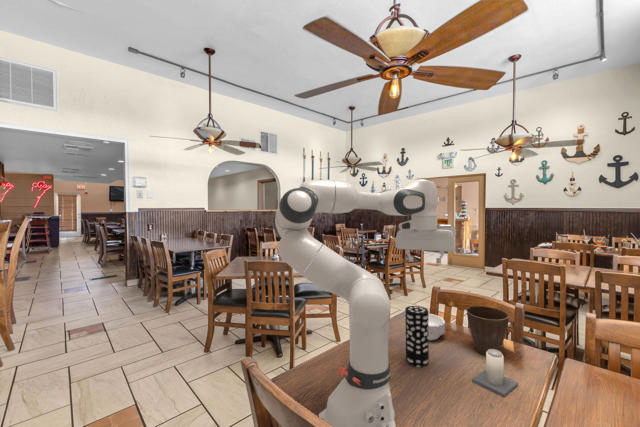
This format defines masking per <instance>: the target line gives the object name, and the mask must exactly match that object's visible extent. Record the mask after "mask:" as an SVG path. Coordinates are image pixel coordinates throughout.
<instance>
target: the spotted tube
mask: <svg viewBox="0 0 640 427" xmlns="http://www.w3.org/2000/svg"><path fill="white" fill-rule="evenodd" d="M404 310H405V361H406V363H407V364H408V365H410V366H412V367H416V368H425V367H427V366H429V364H430V363H429V353H430V352H429V350H430V349H429V340H428V313H429V310H428V308H426V307H423V306H420V305H419V306H417V305H410V306H406V307H405V309H404Z"/></svg>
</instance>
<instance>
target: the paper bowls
mask: <svg viewBox="0 0 640 427" xmlns="http://www.w3.org/2000/svg"><path fill="white" fill-rule="evenodd" d="M445 333H446V321H445V319H444V318H442V317H441V316H439V315H437V314H433V313H429V312H428V341H436V340H438V339H439V338H440V336H442V335H444V334H445Z"/></svg>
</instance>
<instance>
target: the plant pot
mask: <svg viewBox="0 0 640 427" xmlns="http://www.w3.org/2000/svg"><path fill="white" fill-rule="evenodd" d="M465 310H466V316H467V322H468V326H469V331H470V334H471V337H472V340H473V343H474V346H475V349H476V351H477V352H478V353H480V354H482V355H485V356H486V352H487V351H488V349H496V350H499V351H500V350H501V347H502V346H503V342H504V339H505V337H506V334H507V333H506V332H507V329H508V324H509V318H510V315H509V314H508V313H507V312H506V311H504V310H502V309H499V308H495V307H491V306H482V305H474V306H469V307H467V308H466V309H465Z"/></svg>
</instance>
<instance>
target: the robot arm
mask: <svg viewBox="0 0 640 427" xmlns="http://www.w3.org/2000/svg"><path fill="white" fill-rule="evenodd" d="M437 190H438V189H437V185H436V183H435V182H434V181H433V180H431V179H428V178H427V179H426V178H415V179H414V180H413V181H412V182H409V184H407V185H405V186H402V187H401V188H397V189H396V188H395V189H385V190H382V191H380V192H368V191H360V190H357V189H356V187H355V186H354V185H353V184H352V183H349V182H346V181H341V180H335V179H311V180H305V181H303V182H302V183H301V184H300V186H299V187H295V188H292V189H289V190H287V191H286V192H285V193H284V194H283V195H282V197H281V199H280V201H279V205H278V207H277V209H276V212H275V217H274V218H275V219H274V225H273V226H274V230H275V232H276V235H277V236H278V238H279V242H278V245H277V253H278V255H279V257H280V258H281V259H283V261H284V262H285V263H286V264H287V265H288V266H289V267H291V268H292V269H293V270H294V271H295V272H296V273H298V274H299V275H301V276H302V277H303V278H305V280H308V281H309V282H311V284H314V285H315V286H317V287H318V288H319V289H320V290H323V291H324V292H327V293H331V294H333V295H335V296H338V297H341V298H342V299H344V300H346V301H347V302H348V320H349V322H348V323H349V329H348V330H349V361H348V363H347V366H346V367H347V368H345V367H344V366H342V365H341V366H339V368H338V371H337V372H338V373H339V375H342V376H343V377H344V378H343V379H342V380H341V381H340V383H339V384H338V385H337V386H336V387H335V389H334V390H333V391H332V392H331V394H330V395H329V396H328V397H327V403H326V407H325V409H323V410H322V411H320V412H319V413H318V415H317V416H319V417H320V418H322V419H323V420H325V421H326V422H328V423H329V424H331V425H333V426H334V427H397V426H396V422H395V417H396V413H395V412H396V411H395V409H394V406H393V400H392V393H391V386H390V380H391V365H390V362H389V334H390V324H391V323H390V322H391V299H390V297H389V295H388V292H387V290H386V287H385V285H384V283H383V282H382V280H381V279H380V278H379V277H378V276H376V275H375V274H373V273H371V272H369V271H368V270H367V269H364V268H363V267H361V266H359V265H357V264H355V263H354V262H352V261H350V260H348V259H346V258H345V257H343V256H342V255H340V254H339V253H337V252H336V251H334V250H333V249H331V248H330V247H328V246H327V245H326V244H323V242H320V241H319V240H318V239H316V238H315V237H314V236H312V234H311V233H310V232H309V230H308V228H309V227H310V225H311V224H312V221H313V218H314V216H315V214H317V213H327V214H344V213H350V212H352V211H353V210H355V209H356V210H357V209H361V210H375V211H377V212H379V213H381V215H384V216H399V217H400V216H403V217H405V216H407V217H408V216H410V215H411V219H410V220H406V221H404V222H403V221H402V222H400V223H399V224H398V229H399V230H398V231H397V232H396V236H395V247H396V249H398V250H405V254H406V255H407V257H408V262H409V263H413V262H414V260H415V259H414V256H412V255H411V253H410V252H411V250H413V251H414V250H415V251H416V250H417V251H431V252H433V251H435V252H439V255H440V256H439V257H436V258H435V260H436V263H435V264H437V265H438V264H439V265H441V264H442V258H443V257H444V255H445V252H448V253H449V252H454V251H455V250H456V243H455V242H456V241H455V237H456V236H457V229H456V227H455V226H454V225H452V224H439V223H438V212H437V207H438V191H437Z"/></svg>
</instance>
